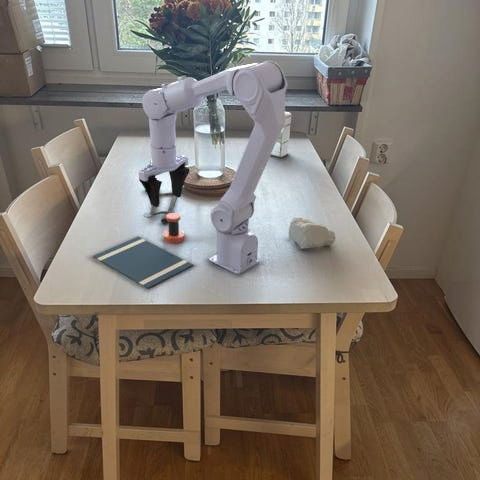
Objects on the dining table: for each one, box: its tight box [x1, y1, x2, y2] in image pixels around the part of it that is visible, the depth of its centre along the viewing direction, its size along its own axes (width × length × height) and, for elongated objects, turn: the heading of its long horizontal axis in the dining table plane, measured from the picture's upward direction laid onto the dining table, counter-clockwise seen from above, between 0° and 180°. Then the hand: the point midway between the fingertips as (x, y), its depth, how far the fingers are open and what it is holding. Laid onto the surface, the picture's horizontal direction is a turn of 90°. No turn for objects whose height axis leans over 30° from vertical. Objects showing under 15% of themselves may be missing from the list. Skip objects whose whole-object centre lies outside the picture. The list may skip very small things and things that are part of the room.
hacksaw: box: [143, 189, 177, 225], centre depth 145 cm, size 24×10×2 cm, turn 179°
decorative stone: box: [288, 217, 337, 250], centre depth 128 cm, size 11×9×10 cm
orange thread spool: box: [163, 212, 185, 245], centre depth 128 cm, size 5×5×6 cm
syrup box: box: [270, 111, 292, 158], centre depth 180 cm, size 6×6×14 cm
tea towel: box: [92, 236, 194, 290], centre depth 120 cm, size 20×14×1 cm
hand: (166, 200), depth 124 cm, fingers open, 7 cm apart
